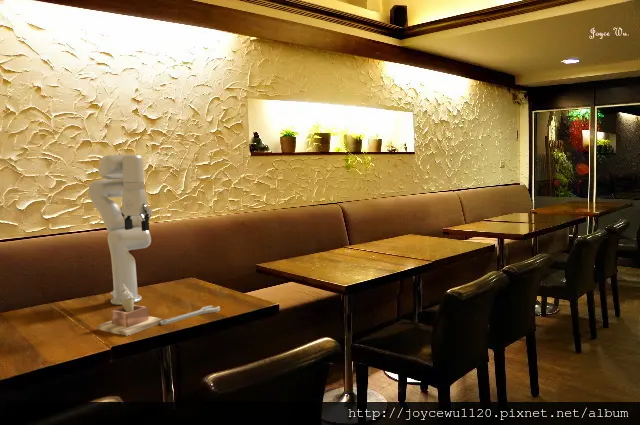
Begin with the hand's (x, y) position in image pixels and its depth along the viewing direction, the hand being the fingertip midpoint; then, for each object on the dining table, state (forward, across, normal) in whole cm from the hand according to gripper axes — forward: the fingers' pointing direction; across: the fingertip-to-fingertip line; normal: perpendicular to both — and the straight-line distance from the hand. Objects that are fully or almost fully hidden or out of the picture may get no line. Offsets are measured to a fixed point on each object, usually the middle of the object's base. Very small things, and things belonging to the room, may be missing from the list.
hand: (137, 229), depth 201 cm
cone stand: (+33, +10, -14) cm, 37 cm away
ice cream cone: (+32, +10, -14) cm, 36 cm away
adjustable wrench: (+34, +21, +5) cm, 40 cm away
